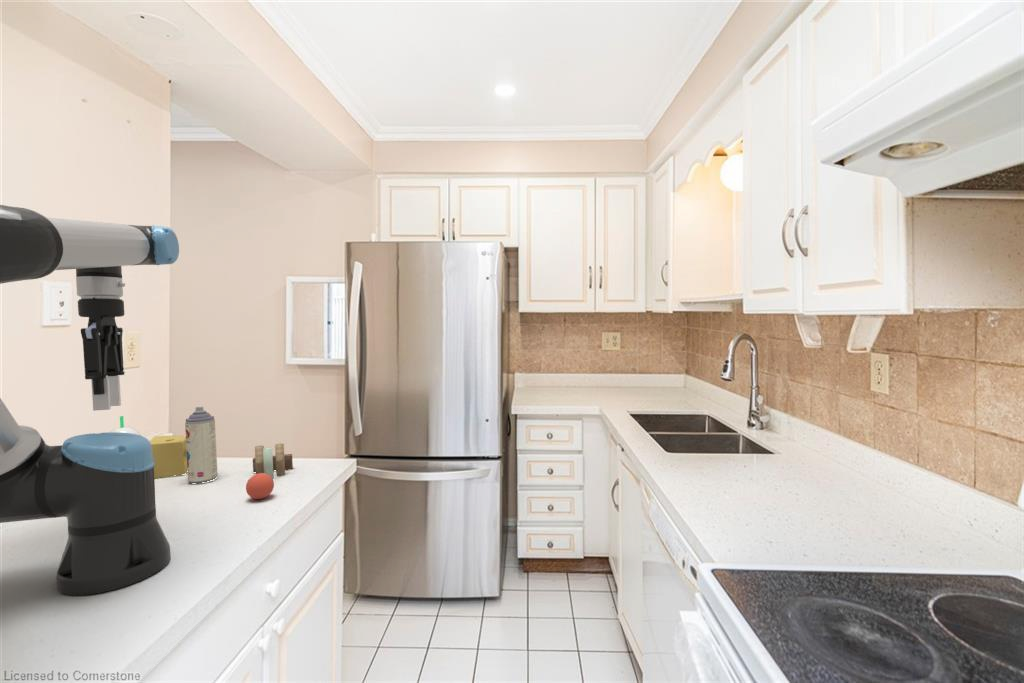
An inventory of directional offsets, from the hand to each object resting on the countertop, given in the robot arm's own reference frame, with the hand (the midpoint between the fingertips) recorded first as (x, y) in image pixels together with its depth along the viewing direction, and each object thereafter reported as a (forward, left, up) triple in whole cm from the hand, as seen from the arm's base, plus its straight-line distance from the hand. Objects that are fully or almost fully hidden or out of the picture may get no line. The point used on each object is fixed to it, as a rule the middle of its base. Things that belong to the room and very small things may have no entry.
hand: (107, 407), depth 106 cm
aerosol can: (+25, -11, -25) cm, 37 cm away
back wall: (+27, -28, -25) cm, 46 cm away
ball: (+3, -28, -22) cm, 36 cm away
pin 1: (+21, -26, -25) cm, 42 cm away
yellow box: (+37, 0, -25) cm, 45 cm away
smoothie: (+18, +4, -25) cm, 31 cm away
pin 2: (+21, -30, -25) cm, 45 cm away
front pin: (+18, -28, -25) cm, 41 cm away
